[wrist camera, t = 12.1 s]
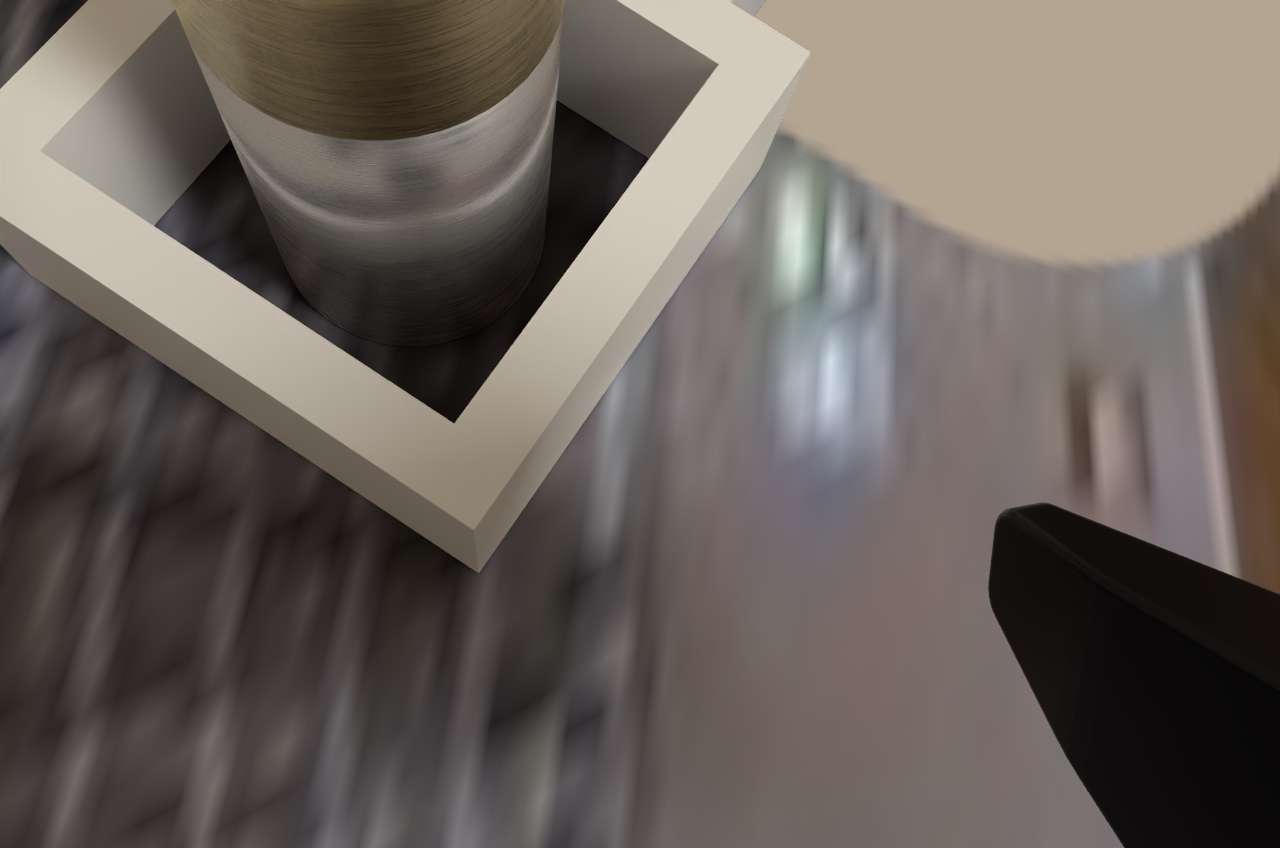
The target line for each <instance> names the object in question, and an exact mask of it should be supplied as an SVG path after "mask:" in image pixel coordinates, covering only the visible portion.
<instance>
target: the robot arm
mask: <svg viewBox="0 0 1280 848" xmlns="http://www.w3.org/2000/svg"><path fill="white" fill-rule="evenodd" d="M988 589H989V598H990V603H991V607H992V610H993V612H994V615H995V617H996V619H997V621H998V623H999V625H1000V627H1001V629H1002V631H1003V633H1004V635H1005V637H1006V639H1007V641H1008V643H1009V645H1010V647H1011V649H1012V651H1013V653H1014V655H1015V657H1016V659H1017V661H1018V663H1019V665H1020V667H1021V669H1022V671H1023V673H1024V675H1025V677H1026V679H1027V681H1028V683H1029V685H1030V687H1031V689H1032V691H1033V693H1034V695H1035V697H1036V699H1037V701H1038V703H1039V705H1040V707H1041V709H1042V711H1043V713H1044V715H1045V717H1046V719H1047V721H1048V723H1049V725H1050V727H1051V729H1052V731H1053V733H1054V735H1055V736H1056V738H1057V740H1058V742H1059V744H1060V746H1061V748H1062V749H1063V751H1064V753H1065V755H1066V757H1067V759H1068V760H1069V762H1070V763H1071V765H1072V767H1073V768H1074V770H1075V772H1076V773H1077V775H1078V776H1079V778H1080V780H1081V781H1082V783H1083V784H1084V786H1085V788H1086V789H1087V791H1088V792H1089V794H1090V795H1091V797H1092V798H1093V800H1094V802H1095V803H1096V805H1097V806H1098V808H1099V809H1100V811H1101V812H1102V814H1103V815H1104V817H1105V819H1106V820H1107V822H1108V823H1109V825H1110V826H1111V828H1112V829H1113V831H1114V832H1115V834H1116V836H1117V837H1118V839H1119V840H1120V842H1121V843H1122V845H1123V846H1124V848H1280V594H1277V593H1275V592H1272V591H1270V590H1267V589H1265V588H1262V587H1259V586H1257V585H1254V584H1252V583H1249V582H1247V581H1244V580H1242V579H1239V578H1237V577H1234V576H1232V575H1229V574H1227V573H1224V572H1222V571H1219V570H1216V569H1214V568H1211V567H1209V566H1206V565H1204V564H1201V563H1199V562H1196V561H1194V560H1191V559H1189V558H1186V557H1184V556H1181V555H1178V554H1176V553H1173V552H1171V551H1168V550H1166V549H1163V548H1161V547H1158V546H1156V545H1153V544H1151V543H1148V542H1146V541H1143V540H1140V539H1138V538H1135V537H1133V536H1130V535H1128V534H1125V533H1123V532H1120V531H1118V530H1115V529H1113V528H1110V527H1108V526H1105V525H1103V524H1100V523H1097V522H1095V521H1092V520H1090V519H1087V518H1085V517H1082V516H1080V515H1077V514H1075V513H1072V512H1070V511H1067V510H1065V509H1062V508H1060V507H1057V506H1054V505H1052V504H1049V503H1037V504H1031V505H1026V506H1021V507H1015V508H1010V509H1006V510H1004V511H1003V512H1002V513H1001V514H1000V515H999V516H998V519H997V521H996V525H995V531H994V539H993V548H992V557H991V566H990V575H989V587H988Z"/></svg>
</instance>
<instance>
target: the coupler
mask: <svg viewBox="0 0 1280 848" xmlns="http://www.w3.org/2000/svg"><path fill="white" fill-rule="evenodd" d="M171 1H172V3H173V6H174V8H175V10H176V13H177V15H178V17H179V20H180V22H181V24H182V27H183V29H184V31H185V34H186V36H187V38H188V41H189V43H190V45H191V48H192V50H193V52H194V55H195V57H196V59H197V62H198V64H199V66H200V69H201V71H202V73H203V75H204V78H205V80H206V82H207V85H208V87H209V89H210V92H211V94H212V96H213V99H214V101H215V103H216V106H217V108H218V110H219V113H220V115H221V117H222V120H223V122H224V124H225V127H226V129H227V131H228V134H229V136H230V138H231V141H232V143H233V145H234V148H235V150H236V152H237V155H238V157H239V159H240V162H241V164H242V166H243V169H244V171H245V173H246V176H247V178H248V180H249V183H250V185H251V187H252V190H253V192H254V194H255V197H256V199H257V201H258V204H259V206H260V208H261V211H262V213H263V215H264V218H265V220H266V222H267V225H268V227H269V229H270V232H271V234H272V236H273V239H274V241H275V243H276V246H277V248H278V250H279V253H280V255H281V257H282V260H283V262H284V264H285V266H286V269H287V271H288V273H289V275H290V277H291V279H292V281H293V283H294V284H295V286H296V287H297V289H298V290H299V292H300V293H301V295H302V296H303V297H304V298H305V299H306V300H307V301H308V303H309V304H310V305H311V306H312V307H313V308H314V309H315V310H316V311H318V312H319V313H320V314H321V315H322V316H323V317H325V318H326V319H327V320H329V321H330V322H332V323H333V324H335V325H336V326H338V327H339V328H341V329H343V330H345V331H347V332H349V333H352V334H354V335H356V336H358V337H361V338H364V339H367V340H370V341H373V342H378V343H383V344H388V345H396V346H408V347H410V346H429V345H435V344H441V343H446V342H449V341H453V340H456V339H460V338H463V337H465V336H467V335H470V334H472V333H474V332H477V331H478V330H480V329H482V328H484V327H485V326H487V325H489V324H490V323H492V322H493V321H495V320H496V319H497V318H499V317H500V316H501V315H502V314H504V313H505V312H506V311H507V310H508V309H509V308H510V307H511V306H512V305H513V304H514V303H515V302H516V301H517V300H518V299H519V297H520V296H521V295H522V293H523V292H524V291H525V289H526V288H527V286H528V285H529V283H530V281H531V279H532V277H533V276H534V274H535V271H536V269H537V266H538V264H539V261H540V258H541V254H542V249H543V245H544V237H545V226H546V214H547V203H548V192H549V180H550V169H551V158H552V146H553V135H554V124H555V112H556V101H557V90H558V78H559V67H560V56H561V44H562V33H563V22H564V10H565V0H171Z"/></svg>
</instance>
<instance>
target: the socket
mask: <svg viewBox="0 0 1280 848" xmlns="http://www.w3.org/2000/svg"><path fill="white" fill-rule="evenodd" d="M765 1H766V0H565V10H564V22H563V33H562V44H561V56H560V67H559V78H558V90H557V101H559V102H561V103H562V104H564V105H565V106H567V107H568V108H570V109H572V110H573V111H575V112H576V113H578V114H580V115H581V116H583V117H584V118H586V119H587V120H589V121H591V122H592V123H594V124H595V125H597V126H598V127H600V128H602V129H603V130H605V131H606V132H608V133H609V134H611V135H613V136H614V137H616V138H617V139H619V140H621V141H622V142H624V143H625V144H627V145H628V146H630V147H632V148H633V149H635V150H636V151H638V152H639V153H641V154H643V155H644V156H646V157H647V158H649V160H648V161H647V163H646V164H645V165H644V167H643V168H642V169H641V171H640V172H639V174H638V175H637V176H636V178H635V179H634V180H633V182H632V183H631V184H630V186H629V187H628V188H627V190H626V191H625V193H624V194H623V195H622V197H621V198H620V199H619V201H618V202H617V203H616V205H615V206H614V207H613V209H612V210H611V212H610V213H609V214H608V216H607V217H606V218H605V220H604V221H603V222H602V224H601V225H600V226H599V228H598V229H597V231H596V232H595V233H594V235H593V236H592V237H591V239H590V240H589V241H588V243H587V244H586V245H585V247H584V248H583V250H582V251H581V252H580V254H579V255H578V256H577V258H576V259H575V260H574V262H573V263H572V264H571V266H570V267H569V269H568V270H567V271H566V273H565V274H564V275H563V277H562V278H561V279H560V281H559V282H558V283H557V285H556V286H555V288H554V289H553V290H552V292H551V293H550V294H549V296H548V297H547V298H546V300H545V301H544V302H543V304H542V305H541V307H540V308H539V309H538V311H537V312H536V313H535V315H534V316H533V317H532V319H531V320H530V321H529V323H528V324H527V326H526V327H525V328H524V330H523V331H522V332H521V334H520V335H519V336H518V338H517V339H516V340H515V342H514V343H513V345H512V346H511V347H510V349H509V350H508V351H507V353H506V354H505V355H504V357H503V358H502V359H501V361H500V362H499V364H498V365H497V366H496V368H495V369H494V370H493V372H492V373H491V374H490V376H489V377H488V378H487V380H486V381H485V383H484V384H483V385H482V387H481V388H480V389H479V391H478V392H477V393H476V395H475V396H474V397H473V399H472V400H471V402H470V403H469V404H468V406H467V407H466V408H465V410H464V411H463V412H462V414H461V415H460V416H459V418H458V419H457V421H456V422H455V423H452V422H451V421H449V420H448V419H446V418H445V417H443V416H442V415H440V414H439V413H437V412H436V411H434V410H433V409H431V408H430V407H428V406H427V405H425V404H423V403H422V402H420V401H419V400H417V399H416V398H414V397H413V396H411V395H410V394H408V393H407V392H405V391H404V390H402V389H401V388H399V387H398V386H396V385H395V384H393V383H392V382H390V381H389V380H387V379H385V378H384V377H382V376H381V375H379V374H378V373H376V372H375V371H373V370H372V369H370V368H369V367H367V366H366V365H364V364H363V363H361V362H360V361H358V360H357V359H355V358H354V357H352V356H350V355H349V354H347V353H346V352H344V351H343V350H341V349H340V348H338V347H337V346H335V345H334V344H332V343H331V342H329V341H328V340H326V339H325V338H323V337H322V336H320V335H319V334H317V333H316V332H314V331H312V330H311V329H309V328H308V327H306V326H305V325H303V324H302V323H300V322H299V321H297V320H296V319H294V318H293V317H291V316H290V315H288V314H287V313H285V312H284V311H282V310H281V309H279V308H278V307H276V306H274V305H273V304H271V303H270V302H268V301H267V300H265V299H264V298H262V297H261V296H259V295H258V294H256V293H255V292H253V291H252V290H250V289H249V288H247V287H246V286H244V285H243V284H241V283H240V282H238V281H236V280H235V279H233V278H232V277H230V276H229V275H227V274H226V273H224V272H223V271H221V270H220V269H218V268H217V267H215V266H214V265H212V264H211V263H209V262H208V261H206V260H205V259H203V258H202V257H200V256H198V255H197V254H195V253H194V252H192V251H191V250H189V249H188V248H186V247H185V246H183V245H182V244H180V243H179V242H177V241H176V240H174V239H173V238H171V237H170V236H168V235H167V234H165V233H163V232H162V231H160V230H159V229H157V228H156V227H154V225H155V224H156V223H157V222H158V221H159V220H160V219H161V217H162V216H163V215H164V214H165V213H166V212H167V211H168V210H169V208H170V207H171V206H172V205H173V204H174V203H175V202H176V201H177V199H178V198H179V197H180V196H181V195H182V194H183V193H184V192H185V190H186V189H187V188H188V187H189V186H190V185H191V184H192V183H193V181H194V180H195V179H196V178H197V177H198V176H199V175H200V174H201V173H202V171H203V170H204V169H205V168H206V167H207V166H208V165H209V164H210V162H211V161H212V160H213V159H214V158H215V157H216V156H217V155H218V153H219V152H220V151H221V150H222V149H223V148H224V147H225V146H226V144H227V143H228V142H229V141H230V140H231V138H230V136H229V134H228V131H227V129H226V127H225V124H224V122H223V120H222V117H221V115H220V113H219V110H218V108H217V106H216V103H215V101H214V99H213V96H212V94H211V92H210V89H209V87H208V85H207V82H206V80H205V78H204V75H203V73H202V71H201V69H200V66H199V64H198V62H197V59H196V57H195V55H194V52H193V50H192V48H191V45H190V43H189V41H188V38H187V36H186V34H185V31H184V29H183V27H182V24H181V22H180V20H179V17H178V15H177V13H176V10H175V8H174V6H173V3H172V1H171V0H88V1H87V2H86V3H85V4H84V5H83V6H82V7H81V8H80V9H79V10H78V11H77V12H76V13H75V14H74V15H73V16H72V17H71V18H70V19H69V20H68V21H67V22H66V23H65V24H64V25H63V26H62V27H61V28H60V29H59V30H58V31H57V32H56V33H55V34H54V35H53V36H52V37H51V38H50V39H49V40H48V41H47V42H46V43H45V44H44V45H43V46H42V47H41V48H40V49H39V50H38V51H37V52H36V54H35V55H34V56H33V57H32V58H31V59H30V60H29V61H28V62H27V63H26V64H25V65H24V66H23V67H22V68H21V69H20V70H19V71H18V72H17V73H16V74H15V75H14V76H13V77H12V78H11V79H10V80H9V81H8V82H7V83H6V84H5V85H4V86H3V87H2V88H1V89H0V244H1V245H2V246H3V247H4V249H5V250H6V251H7V252H8V253H9V254H10V255H11V256H12V257H13V258H14V259H15V260H16V261H17V262H18V263H19V264H20V265H21V266H22V267H23V268H24V269H25V270H26V271H27V272H28V273H29V274H30V275H31V276H33V277H34V278H36V279H37V280H39V281H40V282H42V283H43V284H45V285H46V286H48V287H49V288H51V289H52V290H54V291H55V292H57V293H58V294H60V295H61V296H63V297H64V298H66V299H67V300H69V301H70V302H72V303H73V304H75V305H76V306H78V307H79V308H81V309H82V310H84V311H85V312H87V313H88V314H90V315H91V316H93V317H94V318H96V319H97V320H99V321H100V322H102V323H103V324H105V325H106V326H108V327H109V328H111V329H112V330H114V331H115V332H117V333H118V334H120V335H121V336H123V337H124V338H126V339H127V340H129V341H130V342H132V343H133V344H135V345H136V346H138V347H139V348H141V349H142V350H144V351H145V352H147V353H148V354H150V355H151V356H153V357H154V358H156V359H157V360H159V361H160V362H162V363H163V364H165V365H166V366H168V367H169V368H171V369H172V370H174V371H175V372H177V373H178V374H180V375H181V376H183V377H184V378H186V379H187V380H189V381H190V382H192V383H193V384H195V385H196V386H198V387H199V388H201V389H202V390H204V391H205V392H207V393H208V394H210V395H211V396H213V397H214V398H216V399H217V400H219V401H220V402H222V403H223V404H225V405H226V406H228V407H229V408H231V409H232V410H234V411H235V412H237V413H239V414H240V415H242V416H243V417H245V418H246V419H248V420H249V421H251V422H252V423H254V424H255V425H257V426H258V427H260V428H261V429H263V430H264V431H266V432H267V433H269V434H270V435H272V436H273V437H275V438H276V439H278V440H279V441H281V442H282V443H284V444H285V445H287V446H288V447H290V448H291V449H293V450H294V451H296V452H297V453H299V454H300V455H302V456H303V457H305V458H306V459H308V460H309V461H311V462H312V463H314V464H315V465H317V466H318V467H320V468H321V469H323V470H324V471H326V472H327V473H329V474H330V475H332V476H333V477H335V478H336V479H338V480H339V481H341V482H342V483H344V484H345V485H347V486H348V487H350V488H351V489H353V490H354V491H356V492H357V493H359V494H360V495H362V496H363V497H365V498H366V499H368V500H369V501H371V502H372V503H374V504H375V505H377V506H378V507H380V508H381V509H383V510H384V511H386V512H387V513H389V514H390V515H392V516H393V517H395V518H396V519H398V520H399V521H401V522H402V523H404V524H405V525H407V526H408V527H410V528H411V529H413V530H414V531H416V532H417V533H419V534H420V535H422V536H423V537H425V538H426V539H428V540H429V541H431V542H432V543H434V544H435V545H437V546H438V547H440V548H441V549H443V550H444V551H446V552H447V553H449V554H450V555H452V556H453V557H455V558H456V559H458V560H459V561H461V562H462V563H464V564H465V565H467V566H468V567H470V568H471V569H473V570H474V571H476V572H477V573H480V571H481V570H482V568H483V567H484V566H485V564H486V563H487V561H488V560H489V558H490V557H491V555H492V554H493V553H494V551H495V550H496V548H497V547H498V545H499V544H500V542H501V541H502V540H503V538H504V537H505V535H506V534H507V532H508V531H509V530H510V528H511V527H512V525H513V524H514V522H515V521H516V519H517V518H518V517H519V515H520V514H521V512H522V511H523V509H524V508H525V507H526V505H527V504H528V502H529V501H530V499H531V498H532V496H533V495H534V494H535V492H536V491H537V489H538V488H539V486H540V485H541V483H542V482H543V481H544V479H545V478H546V476H547V475H548V473H549V472H550V471H551V469H552V468H553V466H554V465H555V463H556V462H557V460H558V459H559V458H560V456H561V455H562V453H563V452H564V450H565V449H566V448H567V446H568V445H569V443H570V442H571V440H572V439H573V437H574V436H575V435H576V433H577V432H578V430H579V429H580V427H581V426H582V424H583V423H584V422H585V420H586V419H587V417H588V416H589V414H590V413H591V412H592V410H593V409H594V407H595V406H596V404H597V403H598V401H599V400H600V399H601V397H602V396H603V394H604V393H605V391H606V390H607V389H608V387H609V386H610V384H611V383H612V381H613V380H614V378H615V377H616V376H617V374H618V373H619V371H620V370H621V368H622V367H623V366H624V364H625V363H626V361H627V360H628V358H629V357H630V355H631V354H632V353H633V351H634V350H635V348H636V347H637V345H638V344H639V342H640V341H641V340H642V338H643V337H644V335H645V334H646V332H647V331H648V330H649V328H650V327H651V325H652V324H653V322H654V321H655V319H656V318H657V317H658V315H659V314H660V312H661V311H662V309H663V308H664V307H665V305H666V304H667V302H668V301H669V299H670V298H671V296H672V295H673V294H674V292H675V291H676V289H677V288H678V286H679V285H680V283H681V282H682V281H683V279H684V278H685V276H686V275H687V273H688V272H689V271H690V269H691V268H692V266H693V265H694V263H695V262H696V260H697V259H698V258H699V256H700V255H701V253H702V252H703V250H704V249H705V248H706V246H707V245H708V243H709V242H710V240H711V239H712V237H713V236H714V235H715V233H716V232H717V230H718V229H719V227H720V226H721V224H722V223H723V222H724V220H725V219H726V217H727V216H728V214H729V213H730V212H731V210H732V209H733V207H734V206H735V204H736V203H737V201H738V200H739V199H740V197H741V196H742V194H743V193H744V191H745V190H746V189H747V187H748V186H749V184H750V183H751V181H752V180H753V178H754V177H755V176H756V174H757V173H758V171H759V170H760V168H761V166H762V164H763V161H764V159H765V157H766V154H767V152H768V150H769V148H770V145H771V143H772V141H773V138H774V136H775V134H776V131H777V129H778V127H779V125H780V122H781V120H782V118H783V115H784V113H785V111H786V109H787V106H788V104H789V101H790V99H791V97H792V95H793V92H794V90H795V88H796V86H797V83H798V81H799V79H800V77H801V74H802V72H803V70H804V67H805V65H806V63H807V60H808V58H809V56H810V54H811V52H809V51H808V50H806V49H804V48H803V47H801V46H800V45H798V44H796V43H795V42H793V41H792V40H790V39H788V38H787V37H785V36H784V35H782V34H780V33H779V32H777V31H776V30H774V29H772V28H771V27H769V26H767V25H766V24H764V23H763V22H761V21H759V20H758V19H756V18H755V17H754V16H755V14H756V13H757V12H758V10H759V9H760V8H761V6H762V5H763V3H764V2H765Z"/></svg>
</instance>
